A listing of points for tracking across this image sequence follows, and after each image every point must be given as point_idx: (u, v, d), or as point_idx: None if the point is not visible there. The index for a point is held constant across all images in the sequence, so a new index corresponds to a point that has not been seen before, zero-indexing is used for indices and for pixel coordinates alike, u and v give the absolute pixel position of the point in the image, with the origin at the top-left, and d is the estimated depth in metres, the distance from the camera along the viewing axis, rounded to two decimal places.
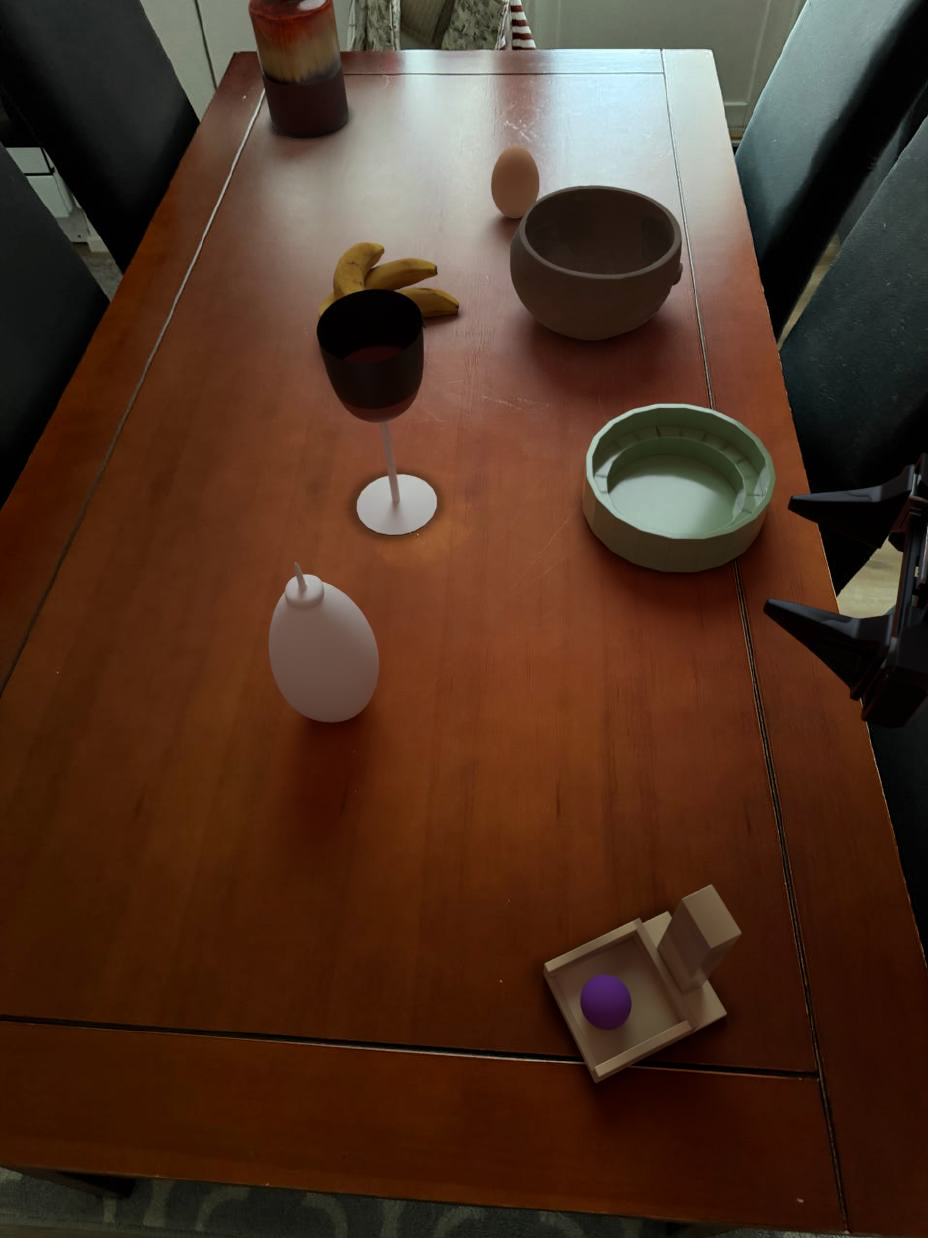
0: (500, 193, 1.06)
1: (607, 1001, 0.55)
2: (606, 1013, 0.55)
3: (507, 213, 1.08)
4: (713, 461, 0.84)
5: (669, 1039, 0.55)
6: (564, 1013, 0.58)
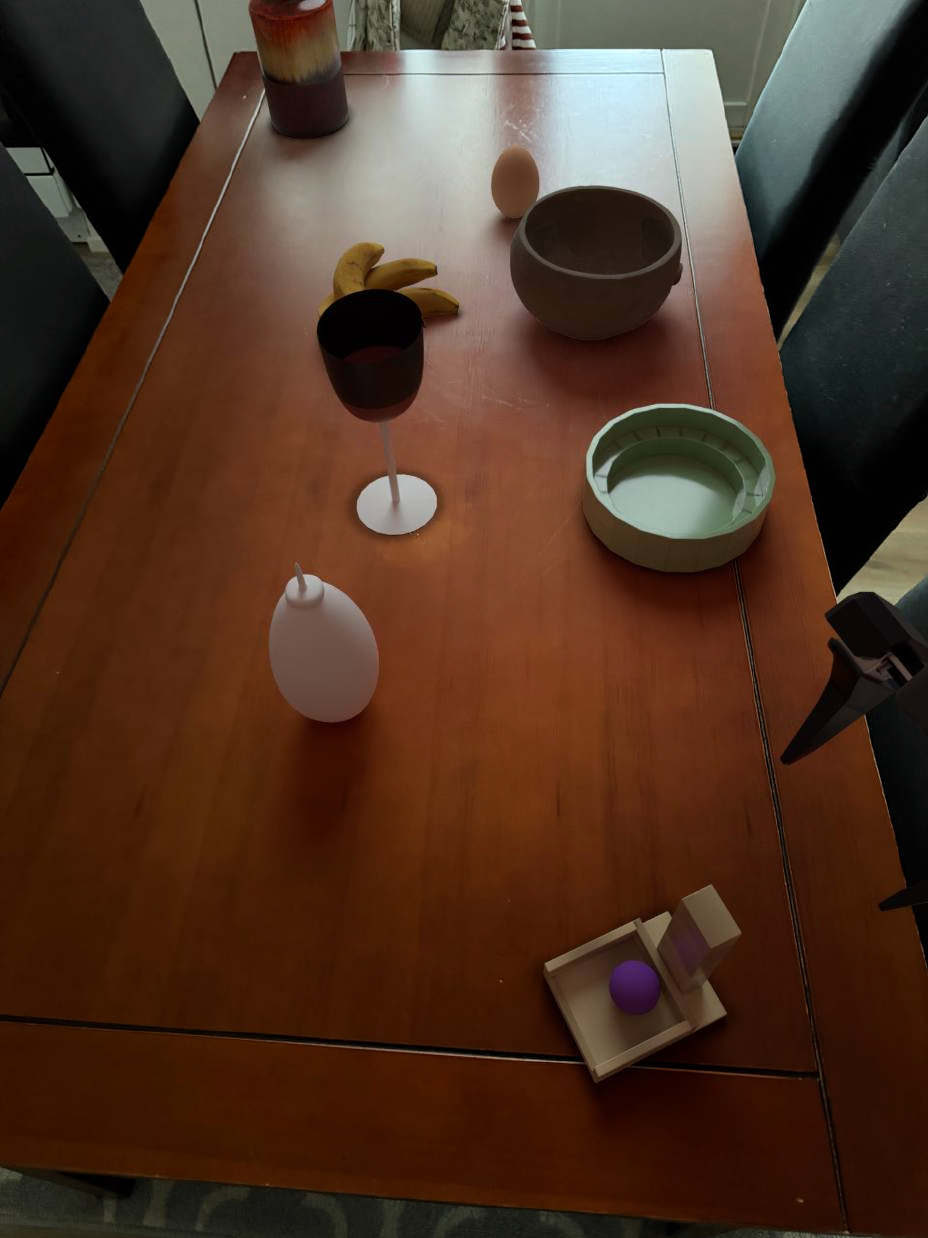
0: (500, 193, 1.06)
1: (657, 978, 0.57)
2: (657, 988, 0.56)
3: (507, 213, 1.08)
4: (713, 461, 0.84)
5: (669, 1039, 0.55)
6: (564, 1013, 0.58)
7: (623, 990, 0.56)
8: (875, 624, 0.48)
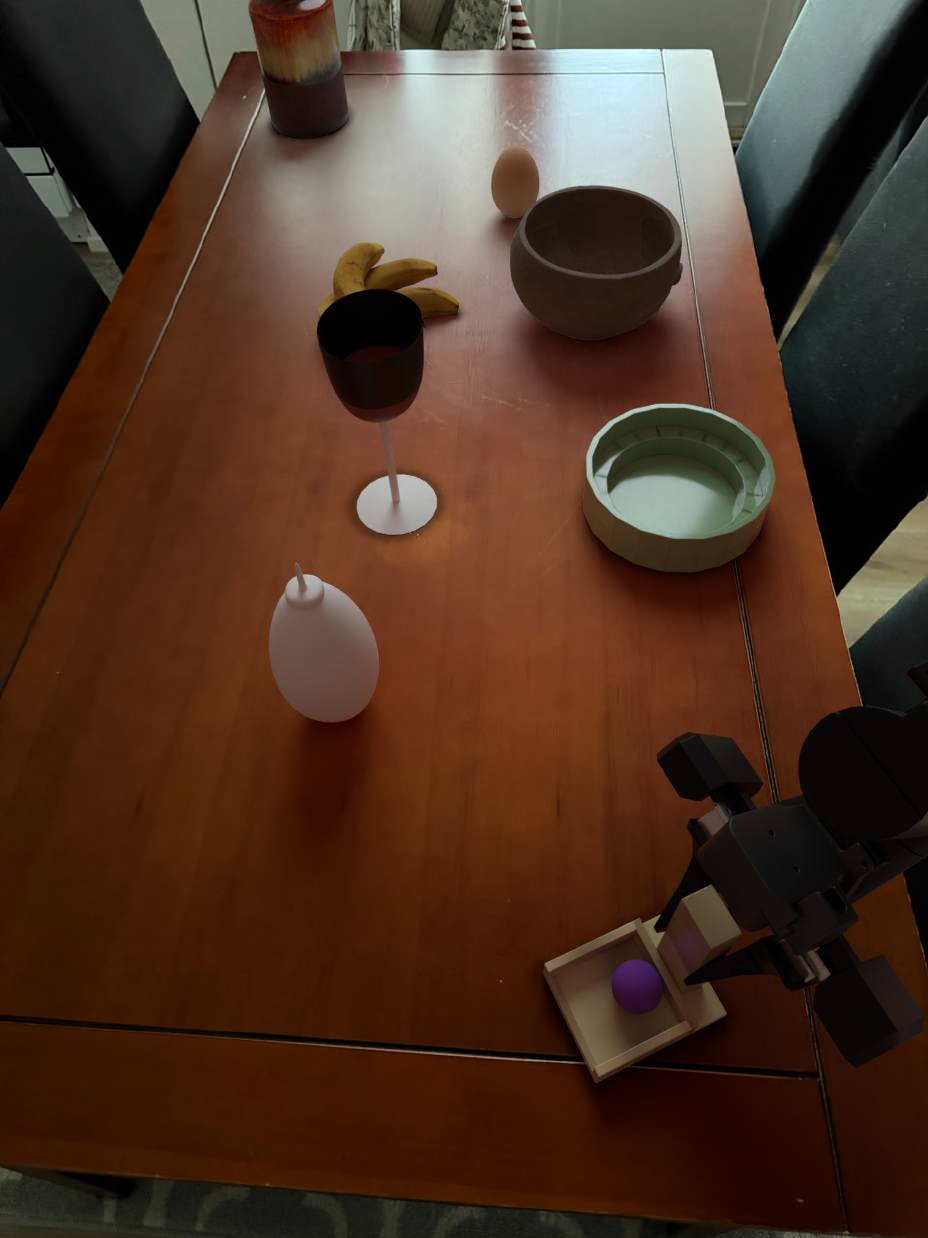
0: (500, 193, 1.06)
1: (660, 977, 0.57)
2: (661, 987, 0.56)
3: (507, 213, 1.08)
4: (713, 461, 0.84)
5: (669, 1039, 0.55)
6: (564, 1013, 0.58)
7: (628, 987, 0.56)
8: (697, 768, 0.51)
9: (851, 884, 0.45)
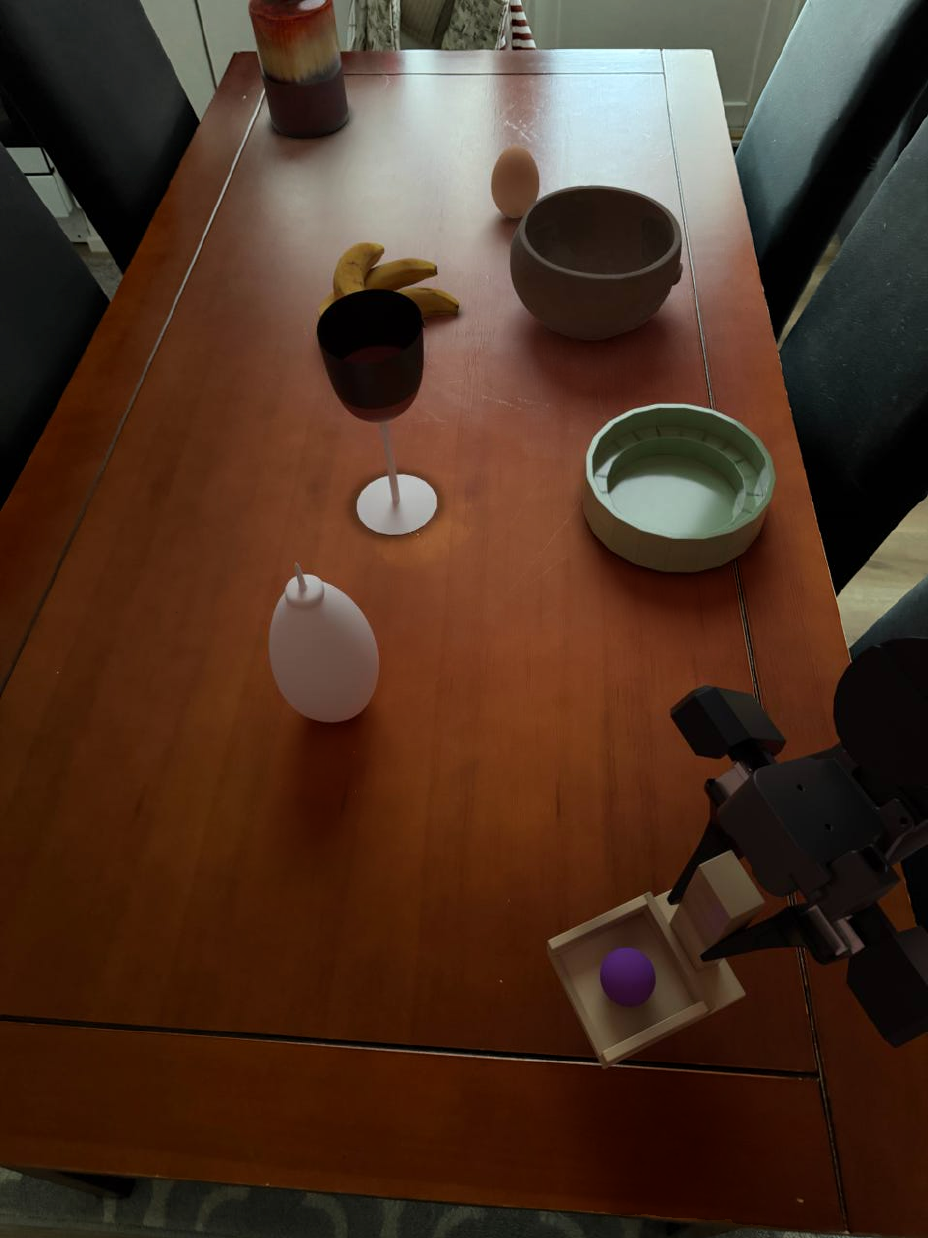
0: (500, 193, 1.06)
1: (642, 970, 0.51)
2: (640, 983, 0.51)
3: (507, 213, 1.08)
4: (713, 461, 0.84)
5: (684, 1021, 0.50)
6: (569, 994, 0.53)
7: (604, 989, 0.52)
8: (715, 723, 0.47)
9: (889, 844, 0.40)
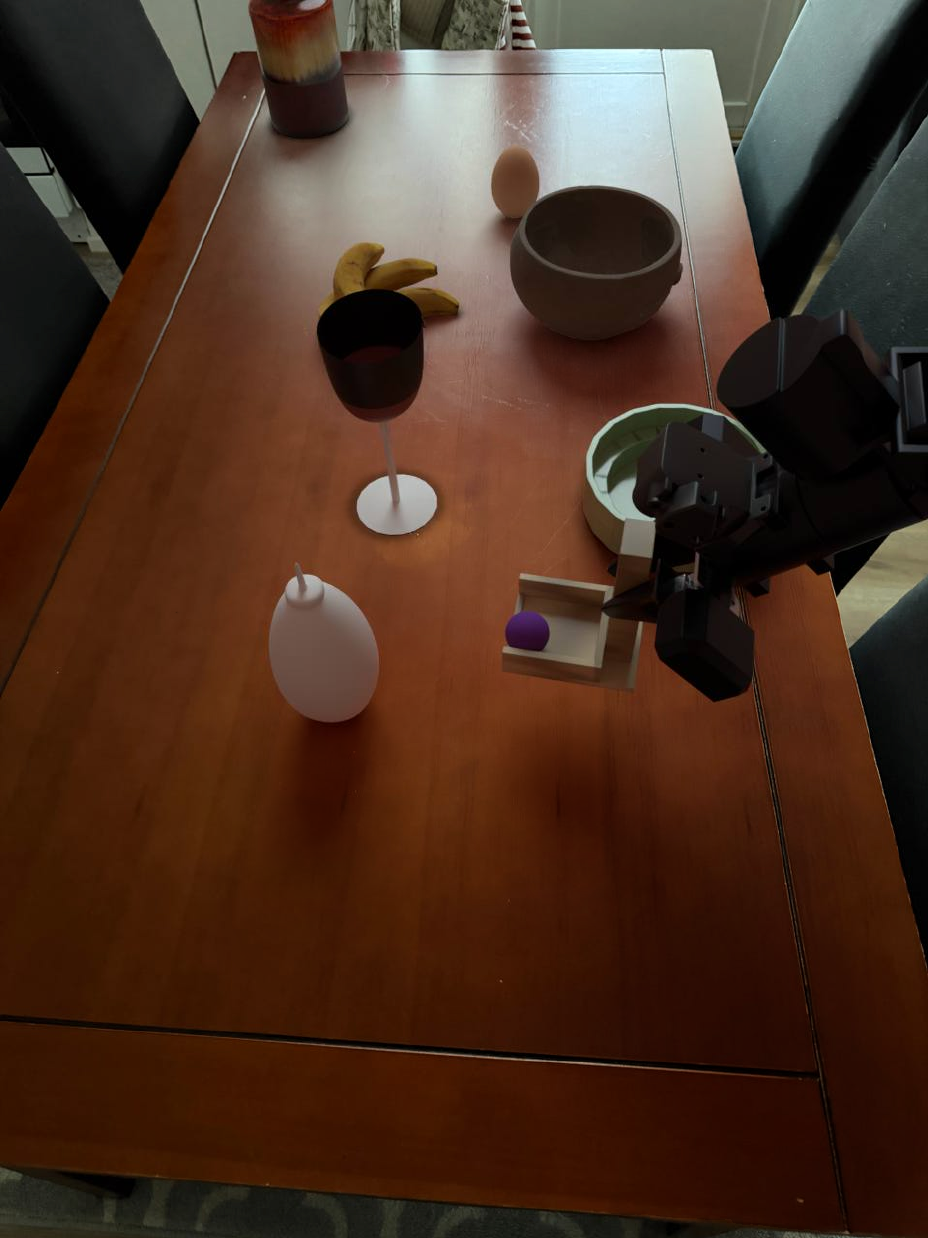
0: (500, 193, 1.06)
1: (511, 640, 0.64)
2: (512, 647, 0.64)
3: (507, 213, 1.08)
4: None
5: (571, 662, 0.62)
6: None
7: None
8: None
9: (744, 523, 0.49)
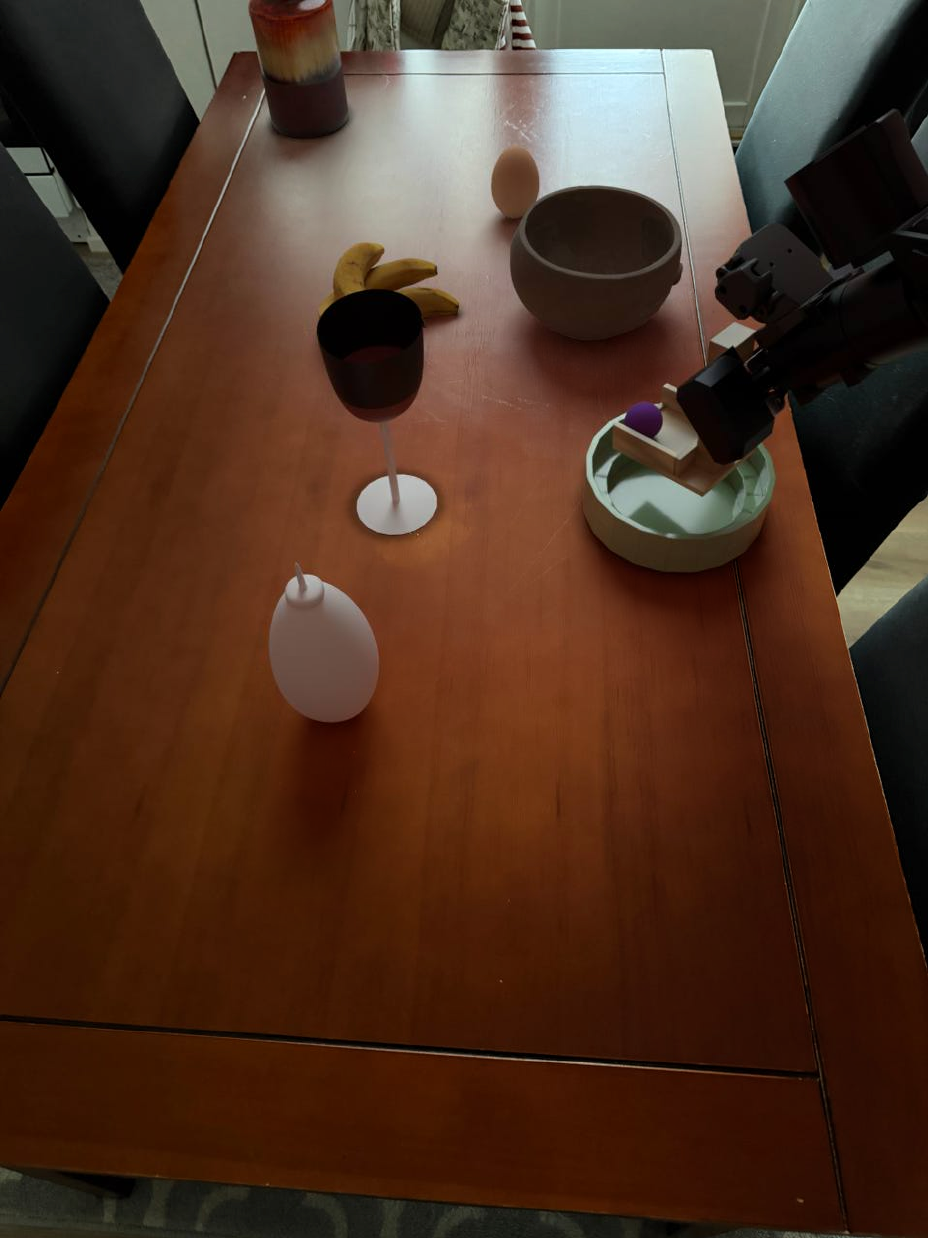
0: (500, 193, 1.06)
1: (626, 418, 0.76)
2: (625, 425, 0.76)
3: (507, 213, 1.08)
4: None
5: (659, 448, 0.73)
6: None
7: None
8: (832, 272, 0.64)
9: (791, 312, 0.58)
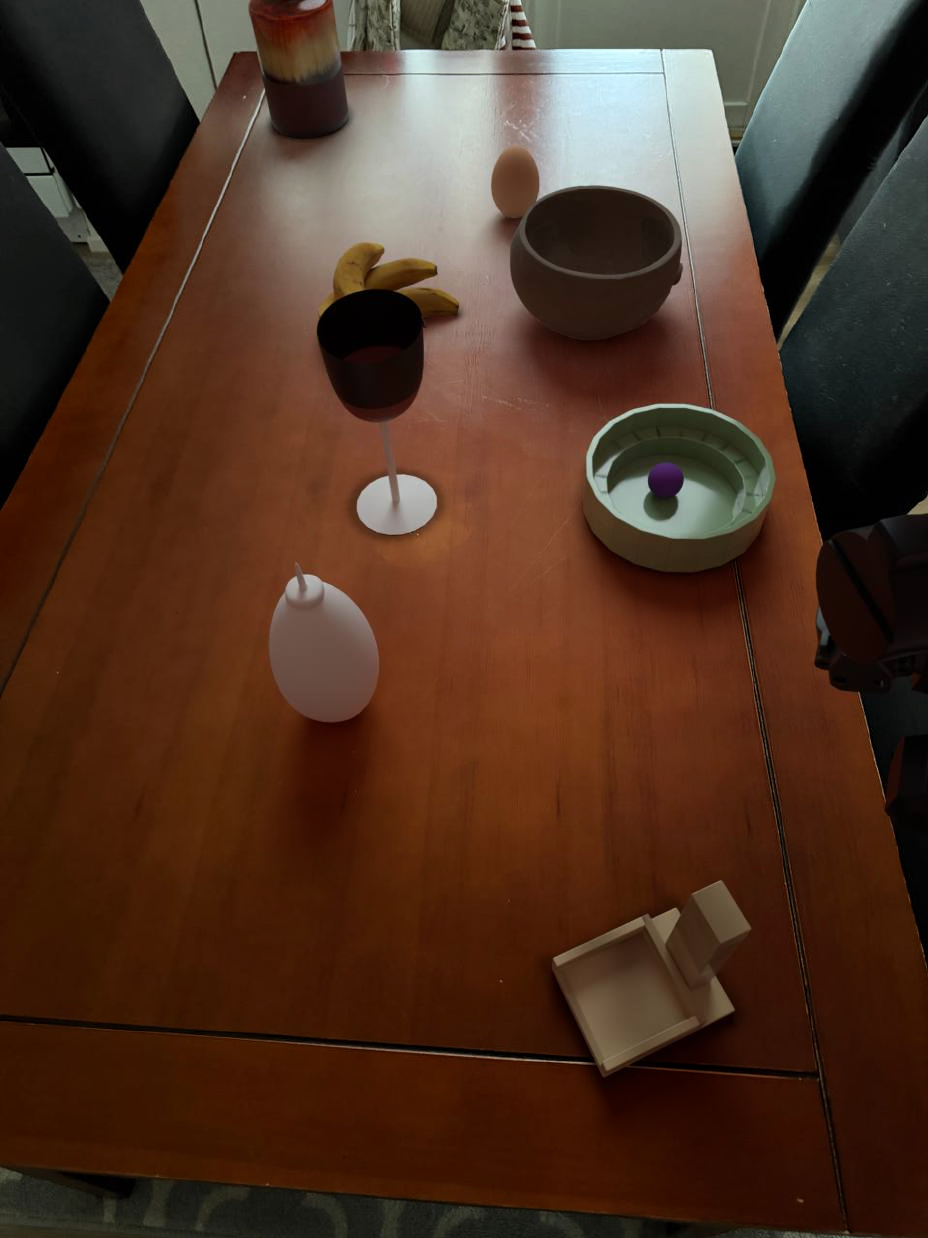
0: (500, 193, 1.06)
1: (682, 479, 0.81)
2: (678, 480, 0.80)
3: (507, 213, 1.08)
4: (713, 461, 0.84)
5: (677, 1034, 0.55)
6: (572, 1007, 0.58)
7: (657, 467, 0.81)
8: None
9: None
